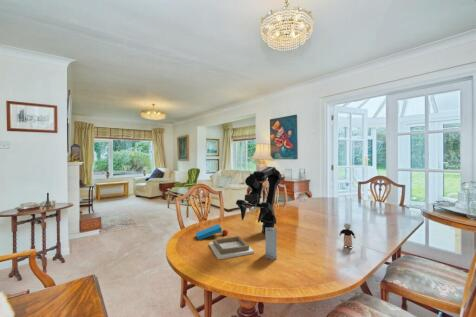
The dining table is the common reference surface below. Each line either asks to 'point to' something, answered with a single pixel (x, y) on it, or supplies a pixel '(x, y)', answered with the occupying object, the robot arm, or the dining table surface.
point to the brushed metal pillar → (270, 243)
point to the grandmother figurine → (347, 235)
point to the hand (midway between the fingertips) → (250, 221)
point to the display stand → (230, 247)
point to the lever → (210, 232)
